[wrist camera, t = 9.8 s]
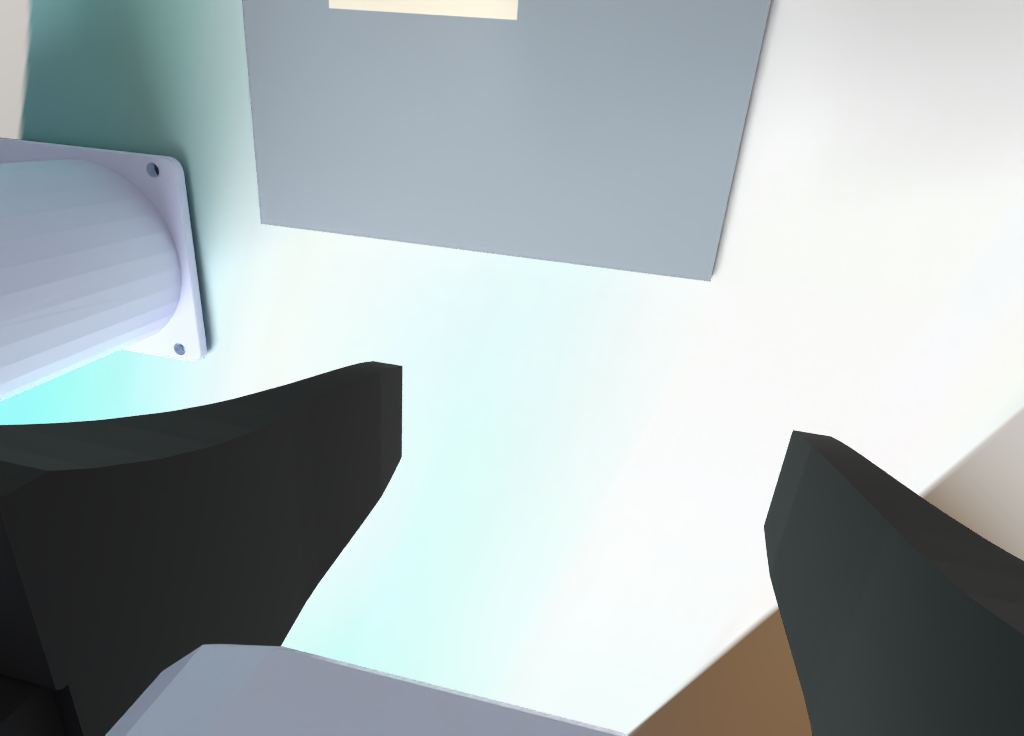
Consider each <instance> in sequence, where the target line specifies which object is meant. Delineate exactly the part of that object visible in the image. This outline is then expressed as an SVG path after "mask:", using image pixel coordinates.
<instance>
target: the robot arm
mask: <svg viewBox="0 0 1024 736" xmlns="http://www.w3.org/2000/svg"><path fill="white" fill-rule="evenodd" d="M155 165H156V166H157V167H158V169H159V175H158V174H157V173H156V172H155V169H154V167H155ZM181 344H182V345H183V346H184V348H185V351H184V350H183V349H182V347H181ZM119 350H127V351H132V352H138V353H144V354H150V355H155V356H161V357H167V358H173V359H179V360H184V361H190V362H197V361H199V360H201V359H203V358H205V356H206V355H207V346H206V338H205V330H204V323H203V315H202V307H201V300H200V292H199V284H198V277H197V269H196V261H195V254H194V246H193V238H192V231H191V223H190V215H189V208H188V200H187V192H186V185H185V177H184V171H183V168H182V166H181V164H180V163H179V161H177V160H176V159H175V158H173V157H169V156H160V155H151V154H142V153H133V152H124V151H115V150H106V149H97V148H89V147H80V146H71V145H62V144H53V143H44V142H35V141H26V140H17V139H7V138H0V402H1V401H3V400H5V399H8V398H10V397H12V396H15V395H17V394H19V393H22V392H24V391H26V390H28V389H31V388H33V387H35V386H38V385H40V384H42V383H45V382H47V381H49V380H52V379H54V378H56V377H59V376H61V375H63V374H66V373H68V372H70V371H72V370H75V369H77V368H79V367H82V366H84V365H86V364H89V363H91V362H93V361H96V360H98V359H100V358H103V357H105V356H107V355H110V354H112V353H114V352H117V351H119ZM401 457H402V366H398V365H392V364H386V363H380V362H374V361H372V362H364V363H359V364H355V365H351V366H347V367H344V368H340V369H337V370H333V371H330V372H327V373H323V374H320V375H317V376H314V377H310V378H307V379H304V380H300V381H297V382H294V383H291V384H287V385H284V386H280V387H276V388H273V389H269V390H265V391H262V392H258V393H254V394H251V395H247V396H243V397H240V398H236V399H231V400H227V401H223V402H218V403H213V404H209V405H204V406H198V407H193V408H187V409H182V410H177V411H170V412H164V413H156V414H148V415H139V416H131V417H123V418H115V419H106V420H96V421H83V422H69V423H50V424H28V425H0V736H627V735H625V734H623V733H620V732H617V731H613V730H609V729H605V728H601V727H598V726H594V725H590V724H586V723H582V722H578V721H574V720H570V719H566V718H562V717H558V716H554V715H550V714H546V713H542V712H538V711H534V710H531V709H527V708H523V707H519V706H515V705H511V704H507V703H503V702H499V701H495V700H491V699H487V698H483V697H479V696H475V695H471V694H467V693H463V692H460V691H456V690H452V689H448V688H444V687H440V686H436V685H432V684H428V683H424V682H420V681H416V680H412V679H408V678H404V677H400V676H396V675H392V674H389V673H385V672H381V671H377V670H373V669H369V668H365V667H361V666H357V665H353V664H349V663H345V662H341V661H337V660H333V659H329V658H325V657H322V656H318V655H314V654H310V653H306V652H302V651H298V650H294V649H290V648H286V647H282V646H281V645H282V643H283V641H284V639H285V638H286V636H287V634H288V632H289V631H290V629H291V627H292V625H293V624H294V622H295V620H296V619H297V617H298V615H299V613H300V612H301V610H302V608H303V606H304V605H305V603H306V601H307V600H308V598H309V597H310V595H311V594H312V592H313V591H314V589H315V588H316V586H317V585H318V583H319V582H320V580H321V579H322V578H323V576H324V575H325V574H326V572H327V571H328V570H329V568H330V567H331V565H332V564H333V563H334V561H335V560H336V559H337V557H338V556H339V555H340V553H341V552H342V550H343V549H344V548H345V546H346V545H347V544H348V542H349V541H350V540H351V538H352V537H353V535H354V534H355V533H356V531H357V530H358V529H359V527H360V526H361V524H362V523H363V522H364V520H365V519H366V518H367V516H368V515H369V513H370V512H371V511H372V509H373V508H374V506H375V505H376V503H377V502H378V501H379V499H380V498H381V496H382V494H383V492H384V491H385V489H386V487H387V485H388V483H389V481H390V479H391V477H392V475H393V473H394V471H395V469H396V467H397V465H398V463H399V461H400V459H401ZM764 531H765V540H766V549H767V557H768V565H769V572H770V577H771V581H772V585H773V589H774V592H775V596H776V600H777V603H778V607H779V610H780V614H781V618H782V621H783V624H784V628H785V632H786V635H787V638H788V642H789V645H790V649H791V652H792V656H793V659H794V663H795V666H796V670H797V673H798V677H799V680H800V684H801V687H802V691H803V694H804V698H805V703H806V707H807V711H808V715H809V719H810V724H811V729H812V735H813V736H1024V561H1023V560H1021V559H1019V558H1017V557H1015V556H1013V555H1012V554H1010V553H1008V552H1006V551H1005V550H1003V549H1001V548H1000V547H998V546H996V545H995V544H993V543H991V542H989V541H987V540H986V539H984V538H982V537H981V536H980V535H978V534H977V533H975V532H973V531H972V530H970V529H969V528H967V527H965V526H964V525H962V524H961V523H959V522H958V521H956V520H955V519H953V518H951V517H950V516H948V515H947V514H945V513H943V512H942V511H941V510H939V509H938V508H936V507H935V506H933V505H932V504H930V503H929V502H927V501H926V500H924V499H923V498H922V497H920V496H919V495H917V494H916V493H914V492H913V491H911V490H910V489H909V488H907V487H906V486H904V485H903V484H901V483H900V482H899V481H897V480H896V479H894V478H893V477H892V476H890V475H889V474H887V473H886V472H885V471H883V470H882V469H880V468H879V467H877V466H876V465H875V464H873V463H872V462H870V461H869V460H868V459H866V458H865V457H863V456H862V455H860V454H859V453H857V452H856V451H854V450H853V449H851V448H850V447H848V446H847V445H845V444H844V443H842V442H840V441H838V440H836V439H834V438H832V437H830V436H824V435H818V434H812V433H806V432H800V431H794V430H793V432H792V436H791V439H790V442H789V445H788V449H787V452H786V455H785V459H784V462H783V465H782V468H781V472H780V475H779V478H778V482H777V485H776V488H775V492H774V495H773V498H772V501H771V505H770V508H769V511H768V515H767V518H766V521H765V525H764Z"/></svg>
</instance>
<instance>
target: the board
mask: <svg viewBox="0 0 1024 736" xmlns="http://www.w3.org/2000/svg"><path fill="white" fill-rule="evenodd" d="M242 4H243V16H244V27H245V39H246V51H247V63H248V75H249V87H250V99H251V110H252V122H253V134H254V146H255V158H256V170H257V182H258V193H259V205H260V217H261V224H268V225H275V226H283V227H291V228H299V229H307V230H314V231H322V232H330V233H338V234H345V235H353V236H361V237H369V238H376V239H384V240H392V241H400V242H408V243H415V244H423V245H431V246H439V247H446V248H454V249H462V250H470V251H478V252H485V253H493V254H501V255H509V256H516V257H524V258H532V259H540V260H547V261H555V262H563V263H571V264H579V265H586V266H594V267H602V268H610V269H617V270H625V271H633V272H641V273H648V274H656V275H664V276H672V277H680V278H687V279H695V280H703V281H711V276H712V272H713V267H714V262H715V258H716V253H717V248H718V244H719V239H720V235H721V230H722V225H723V221H724V216H725V212H726V207H727V202H728V198H729V193H730V188H731V184H732V179H733V175H734V170H735V165H736V161H737V156H738V152H739V147H740V142H741V138H742V133H743V129H744V124H745V119H746V115H747V110H748V105H749V101H750V96H751V92H752V87H753V82H754V78H755V73H756V69H757V64H758V59H759V55H760V50H761V45H762V41H763V36H764V32H765V27H766V22H767V18H768V13H769V9H770V4H771V0H242Z"/></svg>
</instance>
